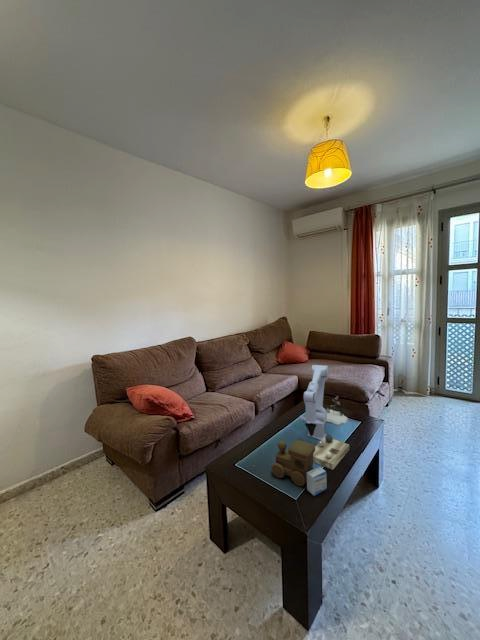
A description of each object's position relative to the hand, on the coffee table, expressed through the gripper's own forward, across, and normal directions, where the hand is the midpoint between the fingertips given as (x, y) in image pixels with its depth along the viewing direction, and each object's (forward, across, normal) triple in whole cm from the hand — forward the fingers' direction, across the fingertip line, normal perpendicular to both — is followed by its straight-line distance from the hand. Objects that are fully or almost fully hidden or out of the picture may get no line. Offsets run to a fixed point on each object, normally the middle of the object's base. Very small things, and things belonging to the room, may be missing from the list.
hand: (311, 435), depth 146 cm
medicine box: (+8, +17, -28) cm, 34 cm away
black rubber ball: (+3, +7, +7) cm, 10 cm away
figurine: (+8, -6, +42) cm, 43 cm away
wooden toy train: (+8, +4, -27) cm, 28 cm away
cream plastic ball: (+3, +13, -7) cm, 15 cm away
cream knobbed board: (+8, +10, 0) cm, 13 cm away
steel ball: (+3, +6, 0) cm, 6 cm away
